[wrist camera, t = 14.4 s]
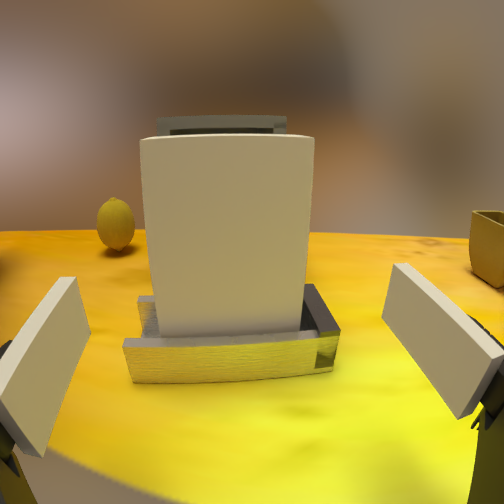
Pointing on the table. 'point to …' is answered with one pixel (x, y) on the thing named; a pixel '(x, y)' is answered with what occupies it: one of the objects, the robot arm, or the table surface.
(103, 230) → the lemon
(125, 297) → the table surface
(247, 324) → the door
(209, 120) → the cabinet
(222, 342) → the drawer
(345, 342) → the table surface
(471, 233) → the flower pot
